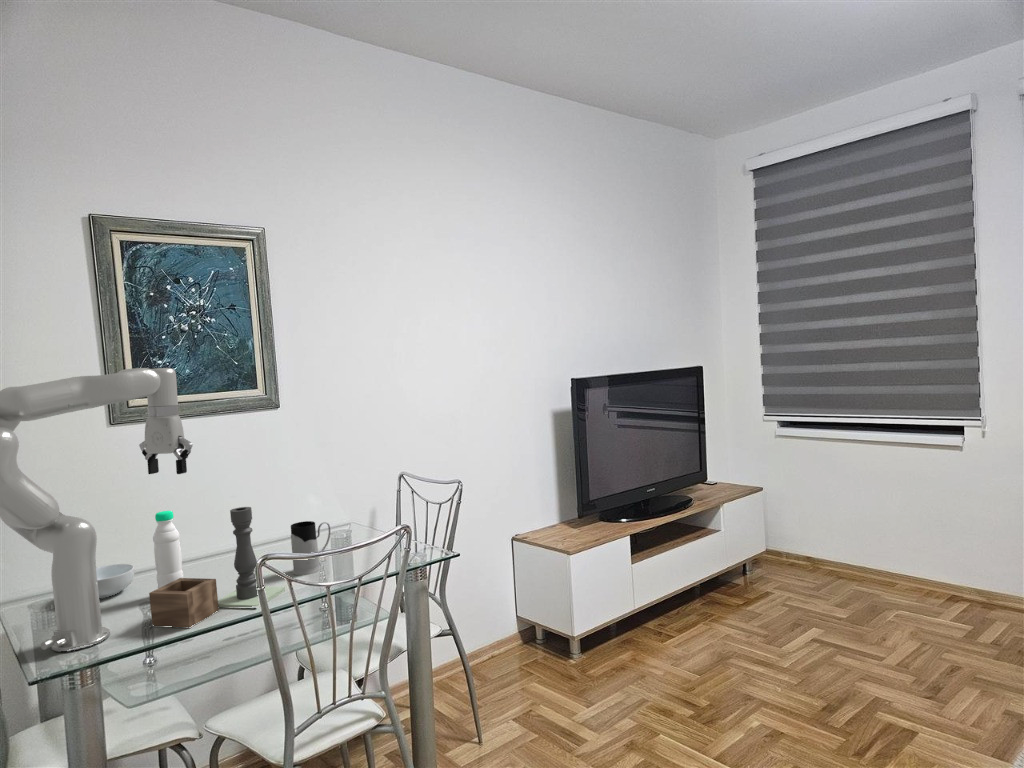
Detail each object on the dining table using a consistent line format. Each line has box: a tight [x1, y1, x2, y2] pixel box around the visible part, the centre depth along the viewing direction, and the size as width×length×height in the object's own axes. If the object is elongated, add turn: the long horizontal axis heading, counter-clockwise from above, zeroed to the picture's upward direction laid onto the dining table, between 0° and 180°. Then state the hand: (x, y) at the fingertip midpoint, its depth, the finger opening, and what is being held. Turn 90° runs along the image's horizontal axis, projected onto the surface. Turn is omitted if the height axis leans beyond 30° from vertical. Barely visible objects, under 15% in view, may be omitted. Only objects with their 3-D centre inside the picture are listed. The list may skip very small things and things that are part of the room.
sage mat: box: [218, 586, 286, 607], centre depth 199 cm, size 14×14×1 cm
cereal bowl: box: [96, 563, 135, 599], centre depth 211 cm, size 17×17×7 cm
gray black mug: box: [290, 520, 331, 576], centre depth 224 cm, size 9×14×15 cm, turn 140°
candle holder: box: [229, 506, 258, 600], centre depth 198 cm, size 6×6×25 cm
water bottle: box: [152, 510, 184, 589], centre depth 206 cm, size 7×7×25 cm
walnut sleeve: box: [148, 577, 220, 628], centre depth 187 cm, size 12×12×9 cm
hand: (167, 473), depth 195 cm, fingers open, 9 cm apart
